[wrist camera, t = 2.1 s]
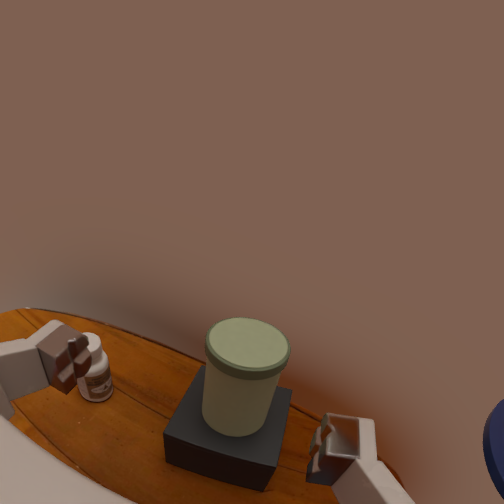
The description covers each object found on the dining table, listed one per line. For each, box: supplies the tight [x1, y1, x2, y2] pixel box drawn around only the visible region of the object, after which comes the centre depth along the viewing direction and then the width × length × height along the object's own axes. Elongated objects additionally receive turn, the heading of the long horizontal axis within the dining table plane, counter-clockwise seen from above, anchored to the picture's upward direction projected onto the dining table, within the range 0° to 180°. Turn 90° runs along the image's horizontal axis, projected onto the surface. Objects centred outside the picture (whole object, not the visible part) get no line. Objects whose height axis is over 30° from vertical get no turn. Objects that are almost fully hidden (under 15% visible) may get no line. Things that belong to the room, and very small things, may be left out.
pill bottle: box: [77, 332, 113, 402], centre depth 29 cm, size 4×4×8 cm
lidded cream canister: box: [202, 317, 291, 437], centre depth 24 cm, size 6×6×9 cm
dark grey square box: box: [163, 365, 292, 492], centre depth 27 cm, size 10×10×6 cm
